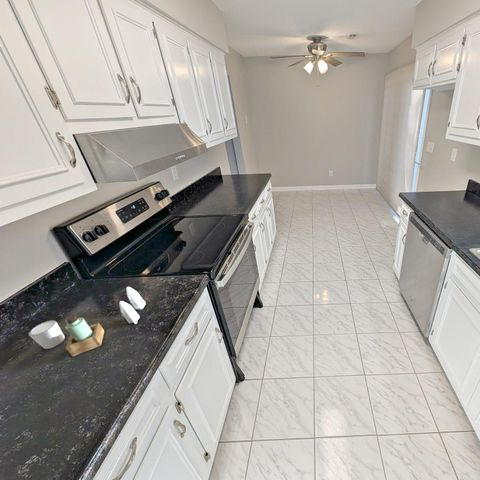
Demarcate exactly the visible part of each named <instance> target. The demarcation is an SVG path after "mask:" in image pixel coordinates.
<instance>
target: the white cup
mask: <svg viewBox="0 0 480 480" xmlns="http://www.w3.org/2000/svg"><path fill="white" fill-rule="evenodd" d="M28 336H29V338H31V339H32V340H33V341H35V342H36V343H37V344H38V345H39V346H40V347H42V348H43V349H44V350H48V349H52V348H55V347H56V346H59V345H60V344H61V343H63V342H64V341H65V339H66V337H65V334H64V333H63V331H62V329H61V327H60V326H59V324H58V322H57V321H56V320H46V321H44V322H41V323H40V324H37V325H36V326H34V327H33V328H32V329H30V330H29V331H28Z"/></svg>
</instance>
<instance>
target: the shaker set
mask: <svg viewBox="0 0 480 480" xmlns="http://www.w3.org/2000/svg"><path fill="white" fill-rule="evenodd" d="M125 291H126V297H127V298H128V300H129V302H130V303H131V304H132V305H131V304H129V303H127V302H125V301H124V300H120V301H119V303H118V304H119V310H120V313H121V314H122V316H123V317H124V319H125V320H126V321H127V323H128V324H134V325H136V324H138V320H139V319H140V318H141V317H140V314H138V313H137V311H136V310H143V309H144V307H145V306H146V301H145V300H144V299H143V297H142V296H141V295H140V293H139V292H138V291H137V290H135V289H134V288H132V287H131V286H126V288H125Z"/></svg>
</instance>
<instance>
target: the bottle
mask: <svg viewBox="0 0 480 480" xmlns="http://www.w3.org/2000/svg"><path fill="white" fill-rule="evenodd" d="M64 321H65V322H66V324H65V329H66V331H67V332H68V333H69V334H70V335H72V337H73V338H74V339H75V340H76V342H79V341H82V340H85V339H87V338H90V337H93V331H92V330H91V328H90V327H89V326H90V325H89V324H88V323H87V321H86V320H85V318H84V317H78V315H77V314H76V313H72V314H69V315H68V316H66V317H65V318H64Z"/></svg>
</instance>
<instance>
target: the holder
mask: <svg viewBox="0 0 480 480" xmlns="http://www.w3.org/2000/svg"><path fill="white" fill-rule="evenodd" d="M88 326H89V327H90V328H91V330H92V331H93V337H90V338H87V339H85V340H82V341H79V342H76V340H75V339H74V338H73V337H72V335H71V334H70V336H69V338H68V341H67V344H66V346H65V349H66V351H68V353H69V354H70V355H71V356H72V357H75V356H78V355H80V354H83V353H86V352H89V351H91V350H94V349H96V348H98V347H101V346H102V343H103V340H104V339H103V338H104V334H105V330H104V328H103V327H102V325H101V323H100V322H96V323H94V324H90V325H88Z"/></svg>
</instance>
